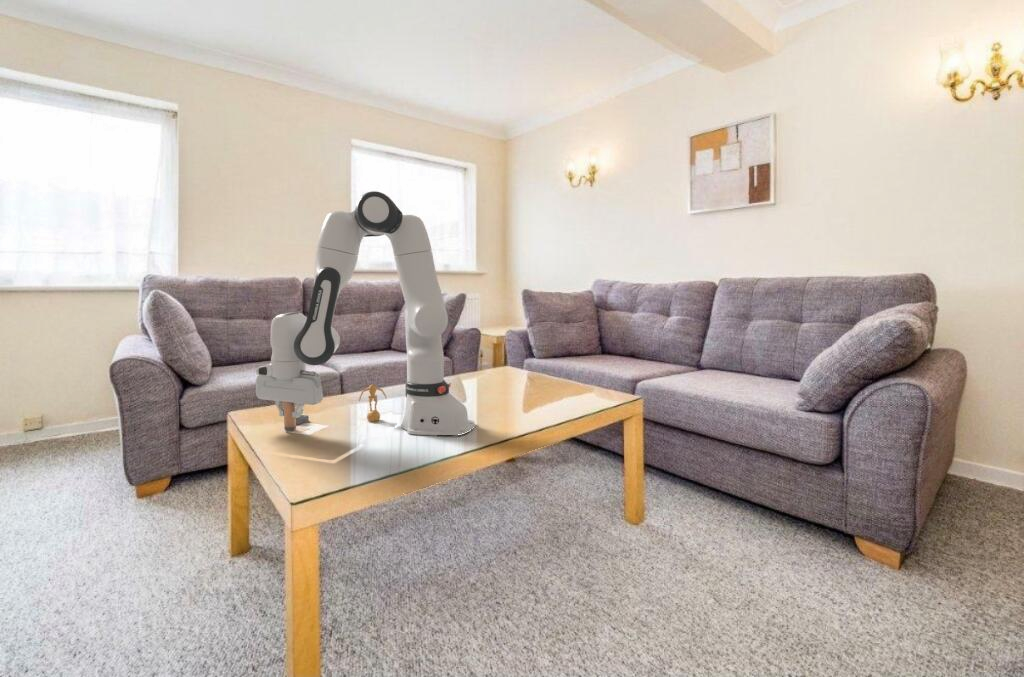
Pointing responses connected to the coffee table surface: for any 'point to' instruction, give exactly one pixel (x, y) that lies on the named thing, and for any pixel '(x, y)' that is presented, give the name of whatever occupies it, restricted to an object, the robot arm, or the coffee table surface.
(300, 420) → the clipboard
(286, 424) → the cylinder
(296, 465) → the coffee table surface
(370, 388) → the figurine
